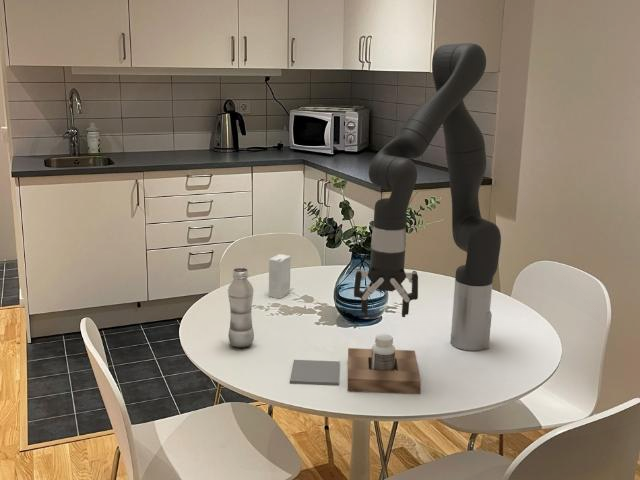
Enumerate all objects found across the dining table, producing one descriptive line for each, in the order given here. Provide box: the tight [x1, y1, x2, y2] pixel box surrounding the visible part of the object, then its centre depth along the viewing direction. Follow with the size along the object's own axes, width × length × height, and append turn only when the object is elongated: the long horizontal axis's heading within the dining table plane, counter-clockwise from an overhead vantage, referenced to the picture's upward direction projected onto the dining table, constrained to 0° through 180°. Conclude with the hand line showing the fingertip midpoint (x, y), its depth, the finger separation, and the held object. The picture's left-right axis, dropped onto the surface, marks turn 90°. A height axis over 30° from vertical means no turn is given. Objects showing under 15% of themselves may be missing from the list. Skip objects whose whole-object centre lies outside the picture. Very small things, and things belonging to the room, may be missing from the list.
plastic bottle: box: [227, 267, 255, 348], centre depth 176 cm, size 6×7×20 cm
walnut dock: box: [347, 347, 422, 395], centre depth 164 cm, size 16×16×3 cm
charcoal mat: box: [289, 359, 341, 386], centre depth 165 cm, size 11×11×1 cm
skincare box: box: [268, 253, 292, 299], centre depth 213 cm, size 6×4×12 cm
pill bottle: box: [370, 333, 396, 371], centre depth 163 cm, size 5×5×10 cm
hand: (384, 315), depth 160 cm, fingers open, 8 cm apart
